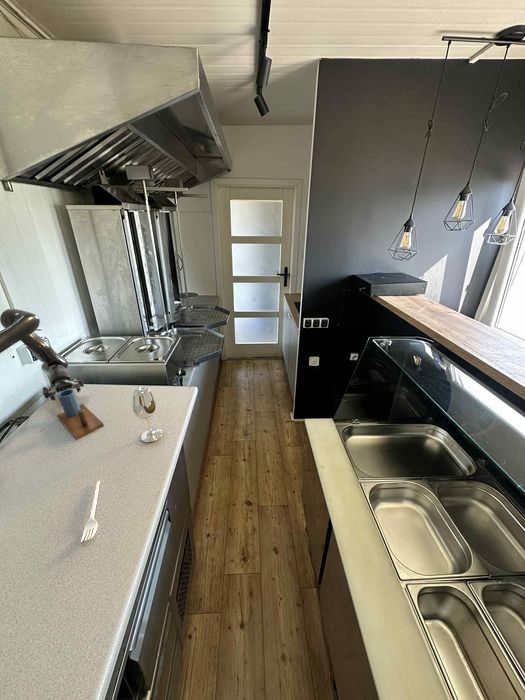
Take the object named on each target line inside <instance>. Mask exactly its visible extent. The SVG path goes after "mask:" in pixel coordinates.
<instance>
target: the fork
mask: <svg viewBox="0 0 525 700" xmlns="http://www.w3.org/2000/svg"><path fill="white" fill-rule="evenodd" d="M100 485H101V480H97V481H96V486H95V490H94V495H93V499H92V504H91V509H90V514H89V519H88V520H87V521H86V523H85V525H84V527H83V532H82V536H81V539H80V543H82V542H83V541H84V542H85V541H86V540H87V541H89V540H92V539H93V538H94V536H95V534H96V532H97V530H98V527H99V524H98V522H97V520H96V519H95V514H96V510H97V509H96V507H97V502H98V498H99V497H98V495H99V490H100Z"/></svg>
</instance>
